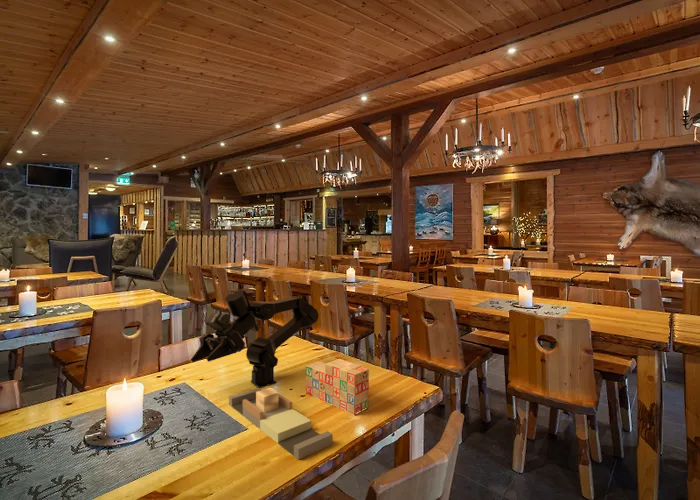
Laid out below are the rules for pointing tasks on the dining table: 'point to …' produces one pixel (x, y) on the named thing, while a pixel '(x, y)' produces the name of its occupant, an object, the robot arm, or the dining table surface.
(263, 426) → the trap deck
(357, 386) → the stack of blocks
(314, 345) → the dining table surface
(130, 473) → the dining table surface
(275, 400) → the maple block
